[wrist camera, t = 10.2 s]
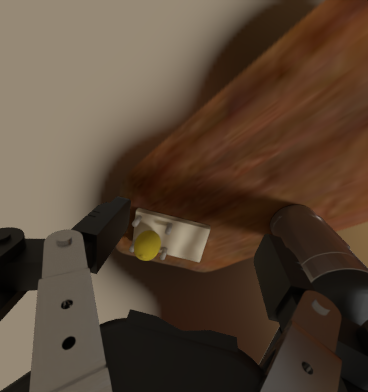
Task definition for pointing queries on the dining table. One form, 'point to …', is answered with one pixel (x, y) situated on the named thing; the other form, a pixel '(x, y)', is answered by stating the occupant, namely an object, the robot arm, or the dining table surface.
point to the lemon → (147, 245)
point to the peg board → (172, 234)
